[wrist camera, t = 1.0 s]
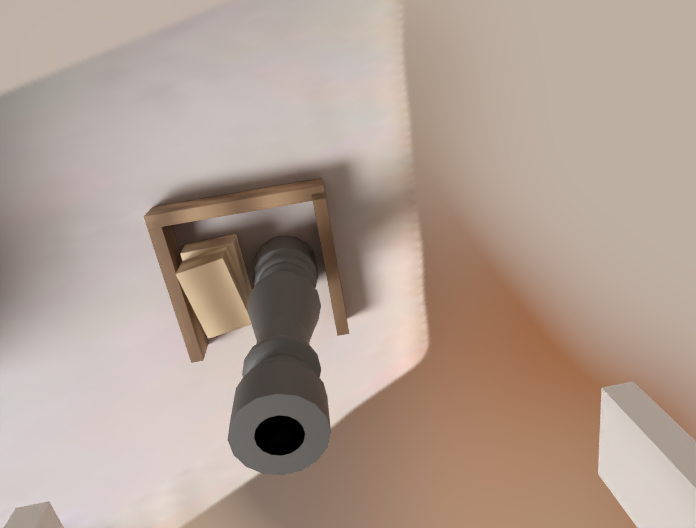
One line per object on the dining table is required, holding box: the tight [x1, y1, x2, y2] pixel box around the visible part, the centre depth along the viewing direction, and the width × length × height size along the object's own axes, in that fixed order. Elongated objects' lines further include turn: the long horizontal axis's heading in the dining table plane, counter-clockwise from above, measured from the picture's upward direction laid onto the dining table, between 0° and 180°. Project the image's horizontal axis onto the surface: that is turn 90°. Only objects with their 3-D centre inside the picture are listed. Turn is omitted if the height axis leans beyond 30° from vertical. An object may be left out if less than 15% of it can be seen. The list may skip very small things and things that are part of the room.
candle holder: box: [228, 236, 331, 475], centre depth 39 cm, size 6×6×25 cm
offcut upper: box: [176, 247, 251, 339], centre depth 47 cm, size 4×7×3 cm, turn 17°
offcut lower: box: [180, 234, 252, 295], centre depth 50 cm, size 5×8×3 cm, turn 9°
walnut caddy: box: [144, 178, 349, 363], centre depth 49 cm, size 16×16×3 cm
